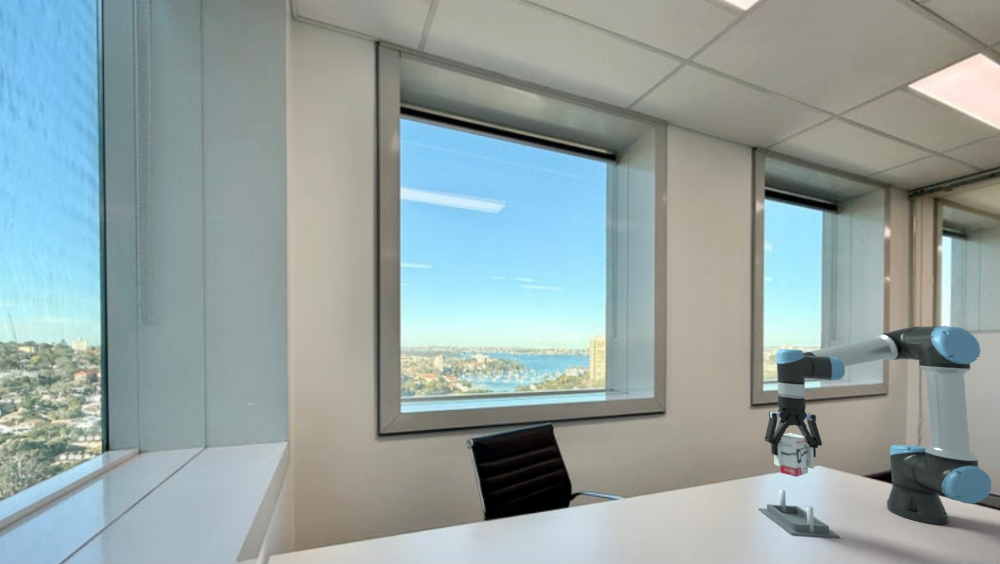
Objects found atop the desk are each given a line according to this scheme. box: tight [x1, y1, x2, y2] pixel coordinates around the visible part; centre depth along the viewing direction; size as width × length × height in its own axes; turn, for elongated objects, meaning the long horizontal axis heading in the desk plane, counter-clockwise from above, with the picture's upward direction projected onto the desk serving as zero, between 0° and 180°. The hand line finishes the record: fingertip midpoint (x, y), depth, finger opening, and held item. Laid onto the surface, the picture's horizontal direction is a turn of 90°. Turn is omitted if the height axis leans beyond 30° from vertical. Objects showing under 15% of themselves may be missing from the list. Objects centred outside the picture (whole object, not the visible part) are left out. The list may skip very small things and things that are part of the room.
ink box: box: [778, 432, 809, 478], centre depth 139 cm, size 8×5×12 cm, turn 123°
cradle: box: [758, 488, 841, 539], centre depth 138 cm, size 14×18×8 cm
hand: (793, 466), depth 139 cm, fingers closed on ink box, 9 cm apart
